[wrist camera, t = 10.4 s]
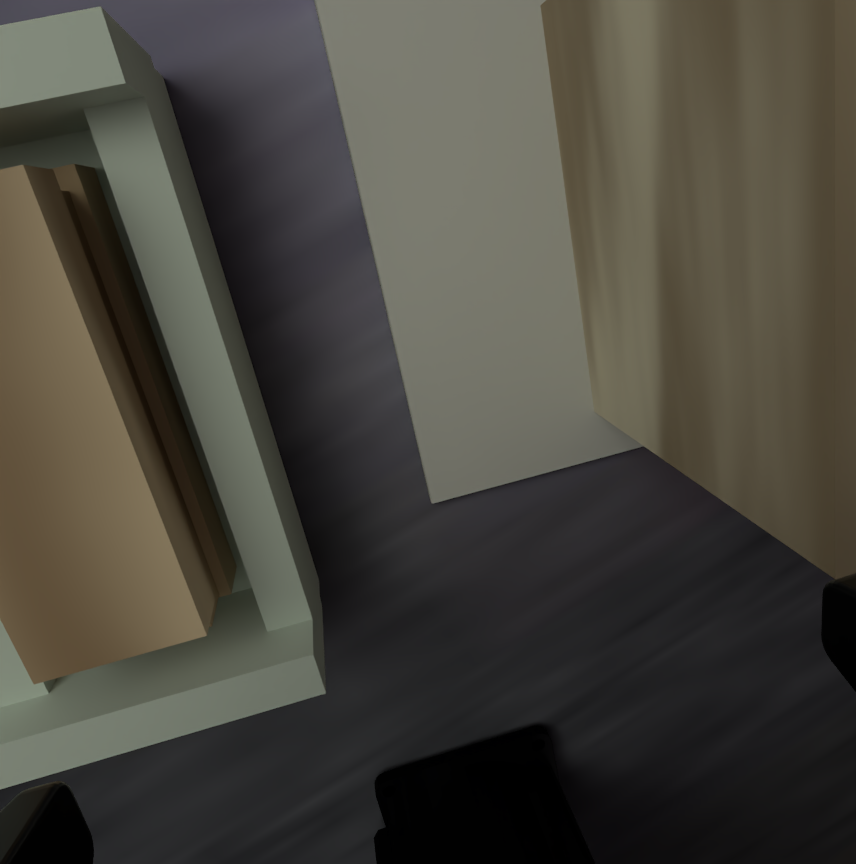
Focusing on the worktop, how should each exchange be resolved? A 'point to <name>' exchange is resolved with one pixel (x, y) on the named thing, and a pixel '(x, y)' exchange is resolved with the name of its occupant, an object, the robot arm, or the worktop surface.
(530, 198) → the grey mat
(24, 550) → the offcut stack
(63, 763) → the rack
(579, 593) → the worktop surface
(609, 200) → the tan wooden block
